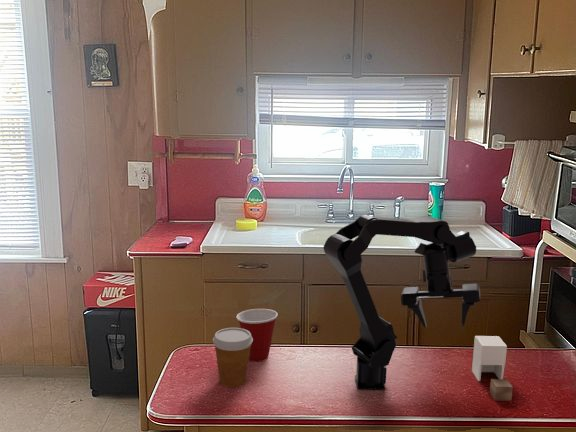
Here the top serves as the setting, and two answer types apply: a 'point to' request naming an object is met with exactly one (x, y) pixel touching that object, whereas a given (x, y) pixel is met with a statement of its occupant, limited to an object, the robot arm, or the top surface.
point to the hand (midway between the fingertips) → (444, 326)
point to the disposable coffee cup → (232, 355)
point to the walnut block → (501, 389)
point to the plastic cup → (258, 331)
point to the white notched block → (489, 356)
